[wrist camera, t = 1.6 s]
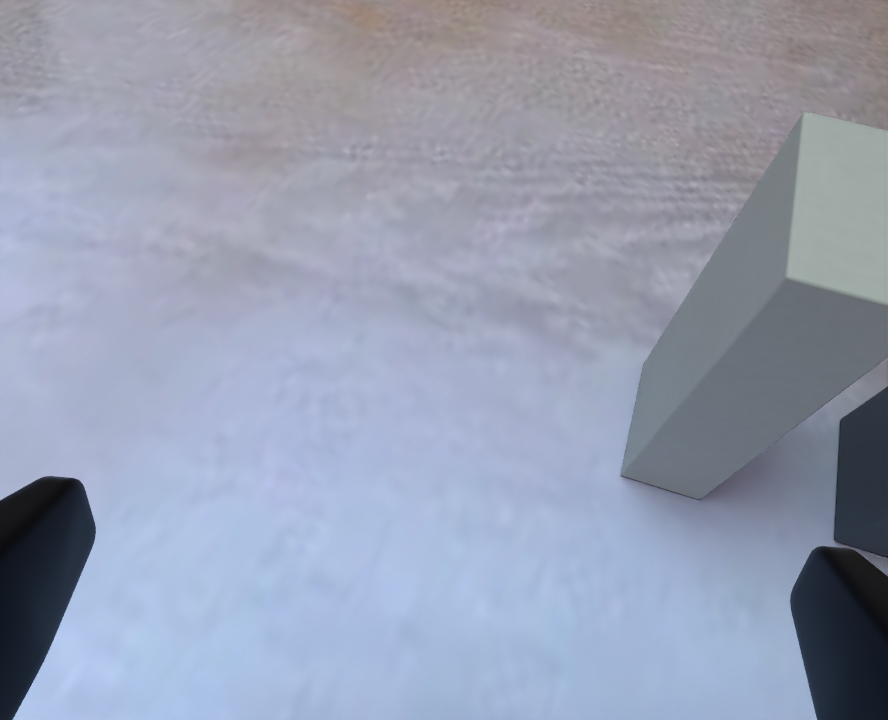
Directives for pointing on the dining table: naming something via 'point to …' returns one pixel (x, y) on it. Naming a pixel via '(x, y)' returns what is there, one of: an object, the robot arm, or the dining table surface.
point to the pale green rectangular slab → (772, 313)
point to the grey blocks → (864, 477)
